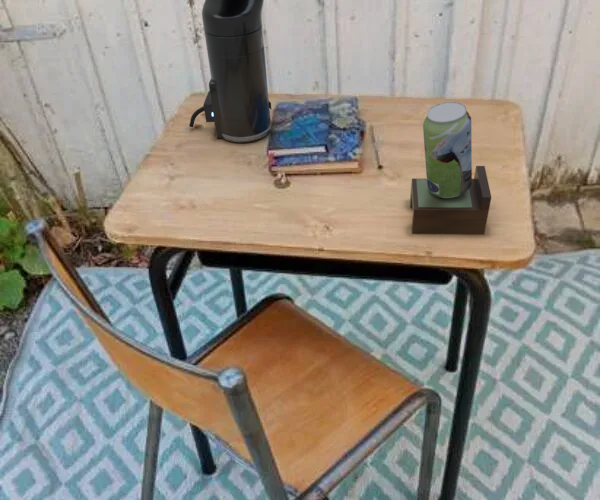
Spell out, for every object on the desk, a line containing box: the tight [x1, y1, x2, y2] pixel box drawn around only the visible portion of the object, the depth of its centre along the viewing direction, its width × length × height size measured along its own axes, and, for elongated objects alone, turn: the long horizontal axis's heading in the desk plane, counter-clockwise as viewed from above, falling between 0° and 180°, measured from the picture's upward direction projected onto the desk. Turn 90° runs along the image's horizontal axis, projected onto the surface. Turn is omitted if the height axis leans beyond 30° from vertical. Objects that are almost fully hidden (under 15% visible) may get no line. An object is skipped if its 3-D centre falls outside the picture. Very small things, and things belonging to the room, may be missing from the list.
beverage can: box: [422, 101, 473, 198], centre depth 86 cm, size 6×7×12 cm
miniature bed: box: [409, 165, 492, 235], centre depth 91 cm, size 10×8×6 cm
